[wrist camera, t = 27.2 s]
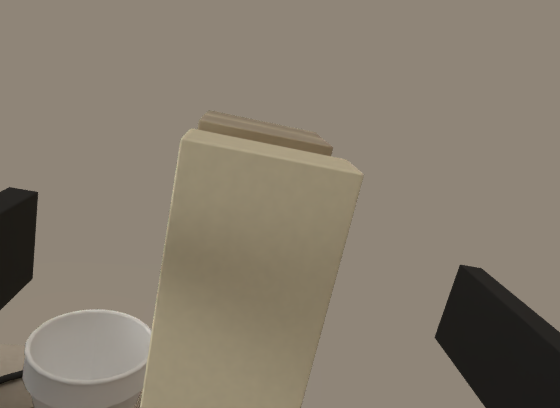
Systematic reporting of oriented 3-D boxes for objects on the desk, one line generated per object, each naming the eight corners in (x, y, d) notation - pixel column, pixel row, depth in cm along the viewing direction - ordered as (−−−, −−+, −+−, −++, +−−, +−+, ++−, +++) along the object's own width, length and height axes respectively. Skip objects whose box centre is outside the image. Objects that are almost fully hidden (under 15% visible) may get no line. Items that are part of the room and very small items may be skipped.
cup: (2, 510, 40) (9, 386, 36) (30, 410, 51) (37, 307, 47) (142, 492, 44) (160, 380, 41) (140, 403, 55) (154, 309, 52)
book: (142, 436, 20) (190, 127, 16) (272, 450, 20) (347, 159, 17) (127, 486, 17) (180, 137, 14) (276, 500, 18) (365, 174, 14)
